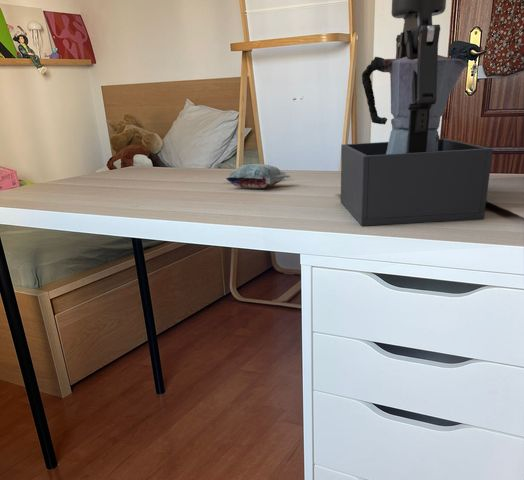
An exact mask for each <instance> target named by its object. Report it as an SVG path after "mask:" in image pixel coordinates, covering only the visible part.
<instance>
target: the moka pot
mask: <svg viewBox="0 0 524 480" xmlns="http://www.w3.org/2000/svg"><path fill="white" fill-rule="evenodd" d="M467 67H469V64H468V62H465V61H464V59H460V58H456V57H449V56H444V55H440V54H438V61H437V91H436V103H435V104H432V106H431V108H430V112H429V124H428V137H427V149H426V152H436V151H438V140H439V139H441V137H440V135H439V131H438V129H439V128H440V125H441V117H442V116H444V114H445V111H446V107H447V105H448V104H447V103H448V99H449V96H450V94H451V92H452V91H453V90H454V87H456V84H457V82H458V80H459V78H460V77H461V75H462V73H463V72H464V70H465V68H467ZM417 69H418V58H417V59H413V60H410V59H408V58H407V57H404V58H400V59H396V58H383V57H380V56H374V57H373V59H372V60H371V61H370V64H368V65H367V66H366V69H364V70H363V71H362V73H361V83H362V85H363V89H364V94H365V97H366V103H367V106H368V112H369V116H370V119H371V123H373V124H378V125H386V123H387V122H388V118H387V117H385V116H384V117H380V116H379V114H378V110H377V107H376V100H375V94H374V90H373V83H372V80H371V75H372V74H373V73H374V72H375V71H377V72H381V73H389V74H390V76H389V78H390V80H389V81H390V115H392V117H393V118H391V119H390V123H391V131H390V134H389V139H388V141H387V142H388V147H387V152H386V154H402V153H407V148H408V133H409V118H410V110H408V106H409V105H410V104H413V102H412V80H413V70H415V72H416V73H417Z"/></svg>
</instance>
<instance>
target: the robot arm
mask: <svg viewBox="0 0 524 480" xmlns="http://www.w3.org/2000/svg"><path fill="white" fill-rule="evenodd" d="M446 7H447V0H391V16H392V18H394V19H403V28H402V32H400V34H397V35H396V37H395V41H396V42H395V43H396V44H395V46H396V49H395V59H400V58H404V57H407V58H408V59H410V60H413V59H417V58H418V69H417V73H416V72H415V70H413V80H412V102H413V104H410V105H409V106H408V110H410V118H409V133H408V148H407V153H419V152H426V149H427V137H428V124H429V112H430V108H431V106H432V104H435V103H436V91H437V61H438V55H439V41H440V33H441V25H440V24H433V17H435V16H439V15H442V14H443V13H444V12H445V11H446Z"/></svg>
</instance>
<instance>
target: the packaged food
mask: <svg viewBox="0 0 524 480" xmlns="http://www.w3.org/2000/svg"><path fill="white" fill-rule="evenodd" d="M288 178H291V175H289V174H288V173H287V172H285V171H283V170H280V168H278V167H277V166H274V165H270V164H264V163H263V164H262V163H252V164H251V163H249V164H243V165H241V166H238V167H237V168H235V169H234V170H233V171H231V172H230V173H229V174H228V175H227V176H226V178H225V179H226V180H227V181H228V182H229V183H231V185H233V187H239V188H244V189H245V188H246V189H267V188H270V187H272V186H274V185H276V184H279V183H281V182H282V181H283V180H285V179H288Z"/></svg>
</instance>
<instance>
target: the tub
mask: <svg viewBox="0 0 524 480" xmlns="http://www.w3.org/2000/svg"><path fill="white" fill-rule="evenodd" d="M388 142H389V141H382V142H381V141H380V142H379V141H377V142H362V143H347V144H341V145H340V146H341V149H340V203H341V204H342V206H343V207H344V208H345V209H346V210H347V211H348V213H349V214H350V215H351V216H352V217H353V218H354V219H355V220H356V222H357V223H358V224H359V225H360V226H361V227H366V226H367V227H370V226H386V225H387V226H388V225H400V224H401V225H402V224H403V225H405V224H419V223H420V224H422V223H437V222H439V223H440V222H455V221H470V220H474V221H475V220H484V219H485V212H486V205H487V197H488V190H489V183H490V182H489V181H490V174H491V168H492V158H493V151H494V149H493V148H491V147H487V146H483V145H482V146H481V145H477V144H473V143H468V142H464V141H459V140H455V139H450V138H440V139H439V140H438V151H436V152H419V153H402V154H386V152H387V147H388Z"/></svg>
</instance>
